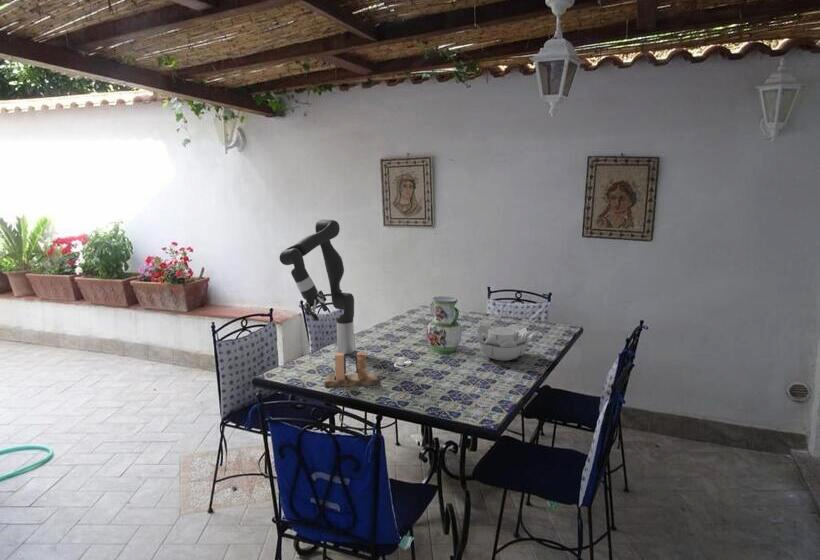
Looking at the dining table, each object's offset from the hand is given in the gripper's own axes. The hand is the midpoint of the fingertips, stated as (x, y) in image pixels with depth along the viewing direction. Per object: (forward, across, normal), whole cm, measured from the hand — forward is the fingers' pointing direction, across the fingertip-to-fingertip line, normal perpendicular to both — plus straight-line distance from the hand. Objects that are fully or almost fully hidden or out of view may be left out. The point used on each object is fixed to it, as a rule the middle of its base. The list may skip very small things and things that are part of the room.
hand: (321, 315), depth 252 cm
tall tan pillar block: (+27, -19, -8) cm, 34 cm away
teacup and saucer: (+43, +11, -24) cm, 50 cm away
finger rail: (+29, -16, -13) cm, 36 cm away
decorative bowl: (+63, +40, -63) cm, 98 cm away
